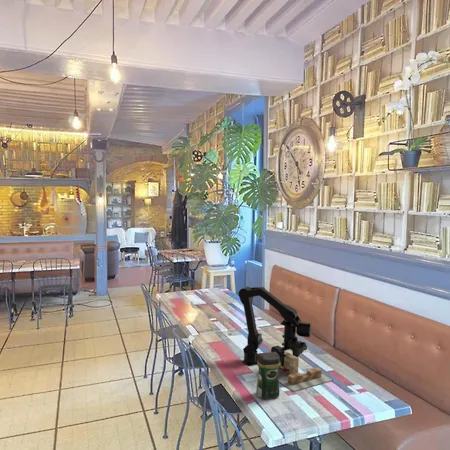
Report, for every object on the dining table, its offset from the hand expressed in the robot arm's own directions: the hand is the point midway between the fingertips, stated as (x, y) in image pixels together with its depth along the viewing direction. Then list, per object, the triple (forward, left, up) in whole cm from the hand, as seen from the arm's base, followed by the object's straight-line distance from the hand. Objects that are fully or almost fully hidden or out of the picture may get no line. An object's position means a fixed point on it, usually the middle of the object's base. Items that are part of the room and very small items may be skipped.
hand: (288, 365), depth 185 cm
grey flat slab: (0, -12, -3) cm, 12 cm away
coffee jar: (-24, -15, -3) cm, 28 cm away
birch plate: (0, 0, -3) cm, 3 cm away
